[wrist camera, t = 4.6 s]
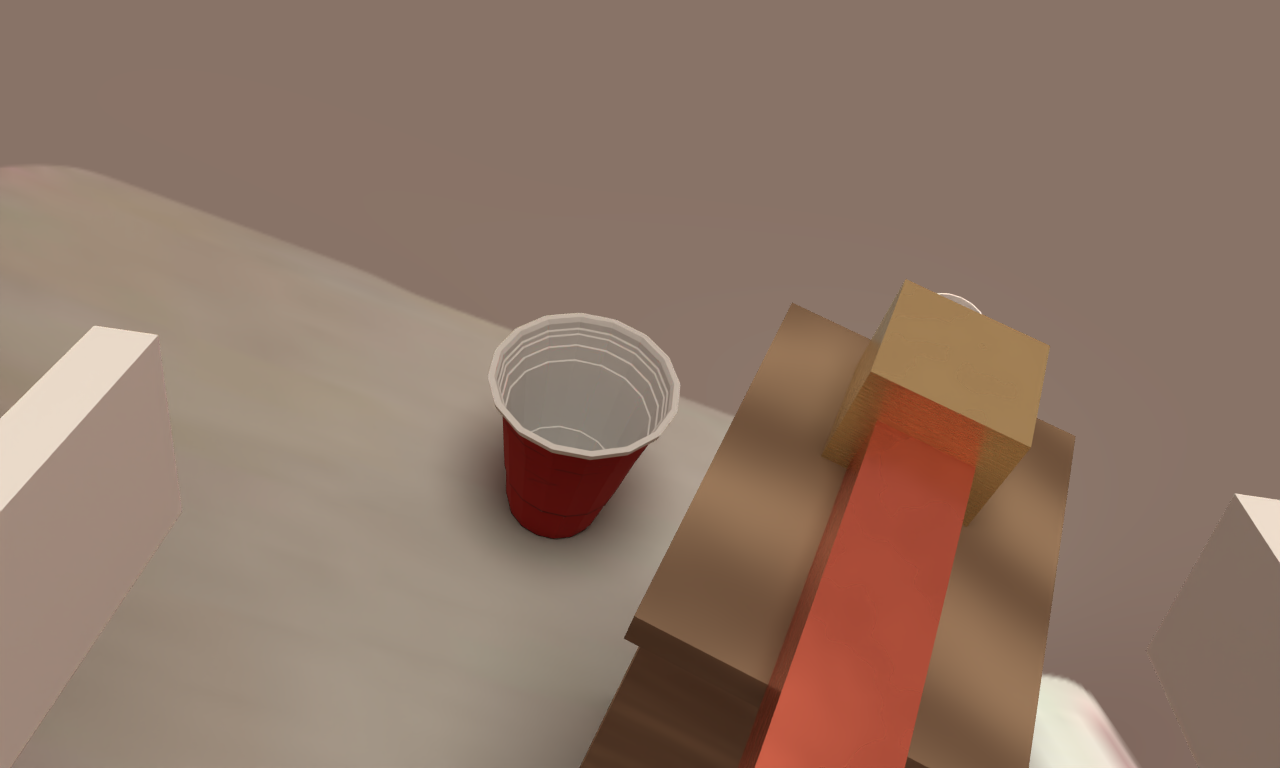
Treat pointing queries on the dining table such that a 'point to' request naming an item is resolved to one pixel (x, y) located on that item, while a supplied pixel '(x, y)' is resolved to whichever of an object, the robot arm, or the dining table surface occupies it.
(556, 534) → the plastic cup
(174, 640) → the dining table surface
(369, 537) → the dining table surface
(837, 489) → the stand
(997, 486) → the lever
